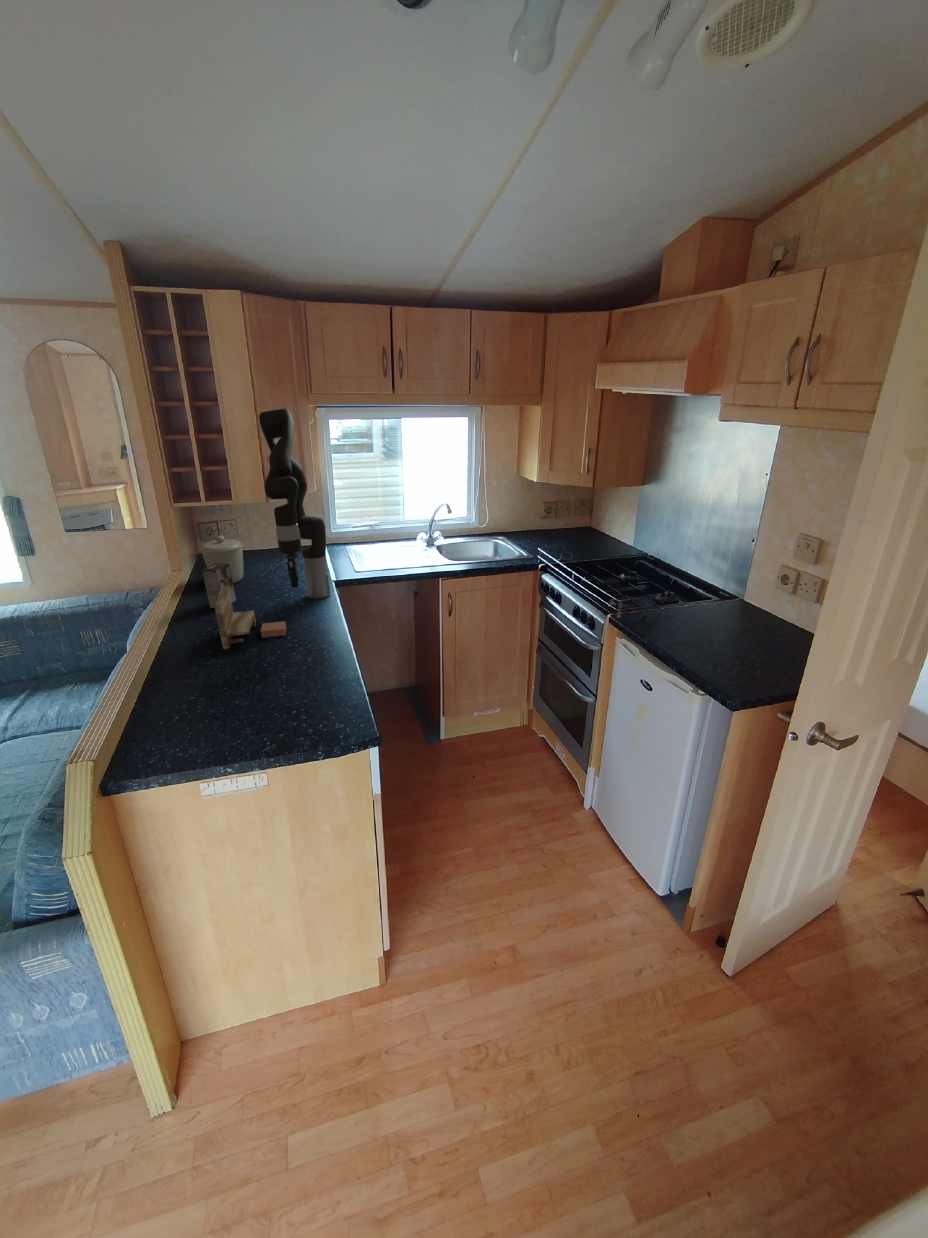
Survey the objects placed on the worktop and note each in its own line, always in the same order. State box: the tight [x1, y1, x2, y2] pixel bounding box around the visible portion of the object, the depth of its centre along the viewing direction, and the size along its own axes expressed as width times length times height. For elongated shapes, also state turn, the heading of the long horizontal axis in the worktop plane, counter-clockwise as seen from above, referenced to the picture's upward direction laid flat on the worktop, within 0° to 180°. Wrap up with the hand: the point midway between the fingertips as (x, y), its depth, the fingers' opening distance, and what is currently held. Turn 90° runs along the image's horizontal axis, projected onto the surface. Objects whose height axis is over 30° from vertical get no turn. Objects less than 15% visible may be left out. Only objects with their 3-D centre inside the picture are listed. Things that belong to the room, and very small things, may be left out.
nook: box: [214, 586, 257, 650], centre depth 194 cm, size 9×19×16 cm, turn 14°
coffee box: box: [201, 563, 237, 609], centre depth 223 cm, size 9×6×16 cm
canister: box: [199, 535, 244, 584], centre depth 249 cm, size 18×18×21 cm
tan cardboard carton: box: [260, 621, 287, 639], centre depth 199 cm, size 8×7×2 cm
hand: (295, 584), depth 195 cm, fingers open, 5 cm apart
